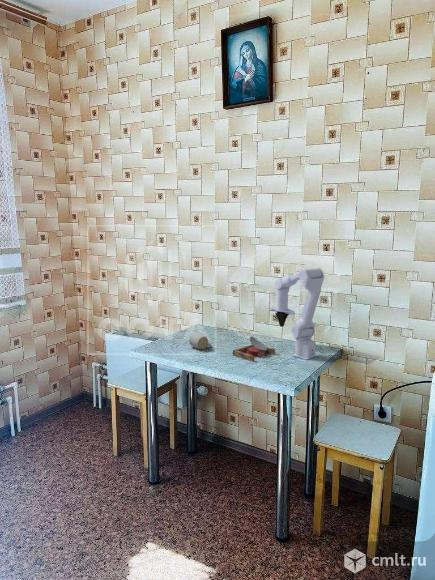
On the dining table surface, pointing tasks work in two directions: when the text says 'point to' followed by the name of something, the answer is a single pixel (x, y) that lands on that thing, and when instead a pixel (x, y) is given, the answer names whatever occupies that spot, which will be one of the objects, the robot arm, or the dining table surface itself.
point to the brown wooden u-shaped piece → (242, 354)
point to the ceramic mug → (198, 341)
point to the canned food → (256, 348)
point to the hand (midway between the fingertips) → (281, 326)
